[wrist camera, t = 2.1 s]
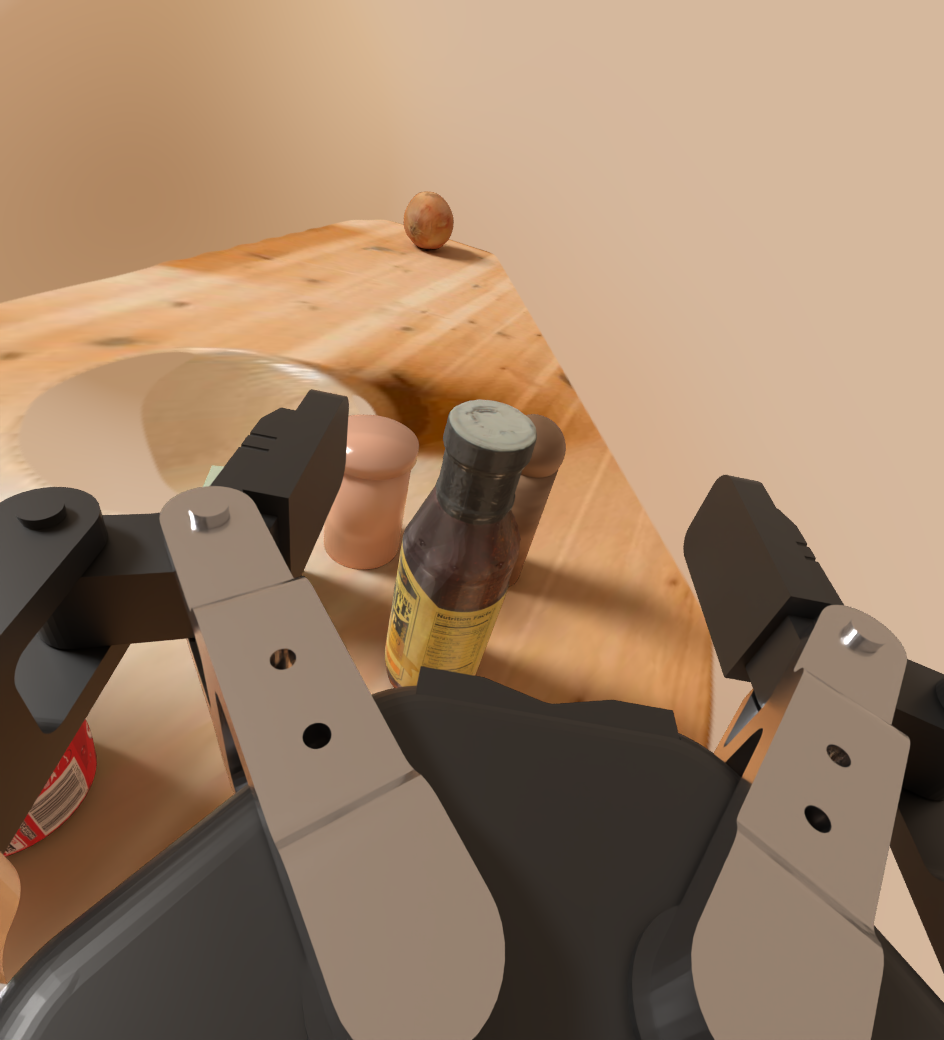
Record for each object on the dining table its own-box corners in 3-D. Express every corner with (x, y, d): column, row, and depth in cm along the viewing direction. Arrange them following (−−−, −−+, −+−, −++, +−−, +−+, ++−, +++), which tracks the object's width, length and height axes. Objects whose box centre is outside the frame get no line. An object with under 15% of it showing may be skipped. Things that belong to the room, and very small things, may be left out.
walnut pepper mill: (464, 583, 44) (506, 430, 35) (468, 544, 48) (508, 396, 38) (520, 594, 44) (576, 445, 35) (520, 554, 48) (572, 410, 39)
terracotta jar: (309, 563, 42) (310, 455, 36) (332, 509, 47) (337, 407, 41) (394, 579, 43) (410, 476, 36) (408, 524, 48) (424, 425, 42)
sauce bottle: (395, 623, 40) (440, 367, 27) (480, 645, 40) (564, 399, 27) (368, 703, 35) (407, 434, 22) (465, 727, 35) (560, 473, 22)
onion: (456, 250, 115) (465, 196, 108) (436, 260, 107) (445, 202, 101) (414, 237, 116) (421, 182, 110) (392, 245, 109) (397, 187, 102)
